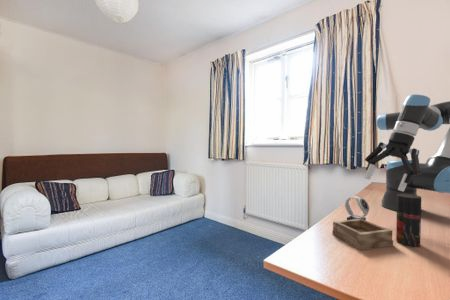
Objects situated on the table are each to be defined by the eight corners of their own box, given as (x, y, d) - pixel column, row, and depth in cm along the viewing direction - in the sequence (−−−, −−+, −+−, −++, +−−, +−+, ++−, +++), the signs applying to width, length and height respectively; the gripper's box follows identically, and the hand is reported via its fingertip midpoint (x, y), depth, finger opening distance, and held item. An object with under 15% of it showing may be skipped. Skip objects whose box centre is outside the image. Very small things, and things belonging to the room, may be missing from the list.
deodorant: (422, 249, 67) (423, 199, 67) (397, 244, 70) (398, 196, 70) (418, 241, 72) (419, 195, 72) (395, 237, 75) (395, 192, 75)
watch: (364, 230, 82) (364, 200, 81) (342, 224, 88) (342, 196, 88) (371, 227, 85) (371, 198, 84) (349, 221, 91) (349, 194, 91)
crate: (360, 230, 81) (360, 218, 81) (393, 245, 70) (393, 230, 70) (332, 234, 78) (332, 221, 78) (361, 250, 67) (361, 235, 67)
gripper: (367, 127, 99) (350, 172, 101) (437, 136, 76) (412, 194, 78) (378, 132, 102) (360, 176, 104) (447, 142, 79) (423, 198, 81)
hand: (382, 184), depth 91 cm, fingers open, 13 cm apart
